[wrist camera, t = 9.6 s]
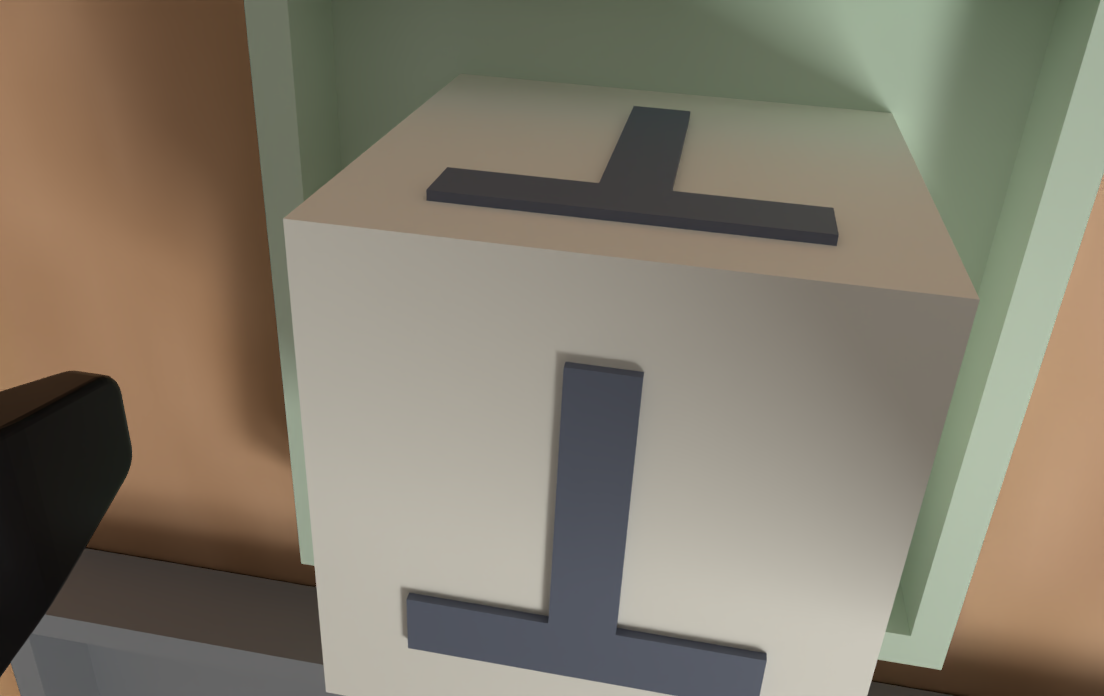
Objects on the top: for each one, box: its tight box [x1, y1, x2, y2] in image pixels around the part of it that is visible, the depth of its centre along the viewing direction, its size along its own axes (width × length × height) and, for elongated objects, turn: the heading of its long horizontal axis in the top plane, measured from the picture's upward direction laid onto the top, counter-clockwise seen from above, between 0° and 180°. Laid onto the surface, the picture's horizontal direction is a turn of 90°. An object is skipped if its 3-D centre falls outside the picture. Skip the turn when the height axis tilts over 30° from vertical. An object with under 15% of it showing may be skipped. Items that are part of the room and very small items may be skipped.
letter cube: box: [283, 74, 980, 696], centre depth 10 cm, size 5×5×5 cm
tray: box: [244, 0, 1104, 670], centre depth 12 cm, size 9×9×2 cm
